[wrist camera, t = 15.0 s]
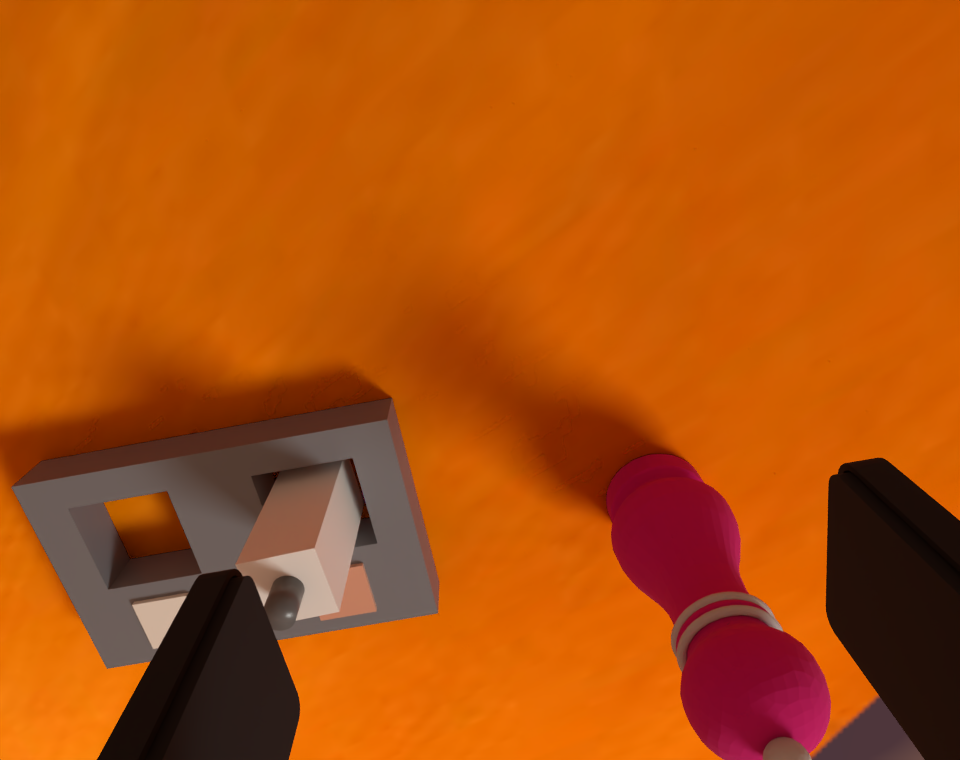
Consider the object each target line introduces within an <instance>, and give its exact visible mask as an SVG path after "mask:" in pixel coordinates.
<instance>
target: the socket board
mask: <svg viewBox="0 0 960 760" xmlns="http://www.w3.org/2000/svg"><path fill="white" fill-rule="evenodd" d="M350 458H353V461H354V465H355V468H356V471H357V475H358V478H359V482H360V485H361V489H362V492H363V495H364V499H365V502H366V506H367V509H368V513H369V516H370V518H364V519H361V520H360V524H359V529H358V533H357V537H356V542H355V546H354V550H353V555H352V559H351V564H350V568H349V572H348V577H347V581H346V585H345V590H344V594H343V598H342V603H341V607H340V611H339V612H336V613H331V614H326V615H321V616H317V617H312V618H307V619H302V620H297V621H295V623H294V625H293V626H292V627H291V628H289V629H287V630H283V631H276V630H273V631H274V634H275V637H276V639H277V640H281V639H287V638H293V637H299V636H305V635H311V634H317V633H323V632H329V631H335V630H341V629H347V628H353V627H359V626H365V625H371V624H377V623H383V622H389V621H395V620H401V619H407V618H413V617H418V616H424V615H430V614H436V613H438V601H439V580H438V576H437V572H436V568H435V564H434V560H433V556H432V552H431V548H430V544H429V540H428V537H427V533H426V529H425V525H424V521H423V517H422V513H421V509H420V505H419V501H418V497H417V494H416V490H415V486H414V482H413V478H412V474H411V470H410V466H409V462H408V458H407V454H406V451H405V447H404V443H403V439H402V435H401V431H400V427H399V423H398V419H397V415H396V411H395V408H394V404H393V400H392V398H388V399H382V400H377V401H371V402H366V403H360V404H355V405H349V406H343V407H338V408H332V409H327V410H321V411H316V412H310V413H305V414H299V415H294V416H288V417H283V418H277V419H272V420H266V421H260V422H255V423H249V424H244V425H238V426H233V427H227V428H222V429H216V430H211V431H205V432H200V433H194V434H188V435H183V436H177V437H172V438H166V439H161V440H155V441H150V442H144V443H139V444H133V445H128V446H122V447H117V448H111V449H105V450H100V451H94V452H89V453H83V454H78V455H72V456H67V457H61V458H56V459H50V460H45V461H41V462H40V463H39V464H37V465H36V466H35V467H34V468H33V469H32V470H30V471H29V472H28V473H27V474H26V475H25V476H23V477H22V478H21V479H20V480H19V481H18V482H17V483H15V484H14V485H13V486H12V489H13V491H14V493H15V495H16V497H17V499H18V501H19V502H20V504H21V506H22V508H23V510H24V512H25V514H26V516H27V518H28V520H29V521H30V523H31V525H32V527H33V529H34V531H35V533H36V535H37V537H38V538H39V540H40V542H41V544H42V546H43V548H44V550H45V552H46V554H47V556H48V557H49V559H50V561H51V563H52V565H53V567H54V569H55V571H56V573H57V575H58V576H59V578H60V580H61V582H62V584H63V586H64V588H65V590H66V592H67V593H68V595H69V597H70V599H71V601H72V603H73V605H74V607H75V609H76V611H77V612H78V614H79V616H80V618H81V620H82V622H83V624H84V626H85V628H86V629H87V631H88V633H89V635H90V637H91V639H92V641H93V643H94V645H95V647H96V648H97V650H98V652H99V654H100V656H101V658H102V660H103V662H104V664H105V666H106V667H107V669H108V668H114V667H120V666H126V665H132V664H138V663H144V662H150V661H151V660H152V658H153V657H154V655H155V653H156V651H157V649H158V647H159V646H160V644H161V642H162V640H163V638H164V636H165V635H166V633H167V631H168V629H169V627H170V626H171V624H172V622H173V620H174V618H175V616H176V615H177V613H178V611H179V609H180V607H181V605H182V604H183V602H184V600H185V598H186V596H187V594H188V593H189V591H190V589H191V587H192V585H193V583H194V582H195V580H196V579H197V577H198V576H199V575H202V574H206V573H211V572H217V571H223V570H229V569H237V567H236V565H235V564H236V562H237V560H238V558H239V556H240V554H241V552H242V550H243V548H244V545H245V543H246V541H247V539H248V537H249V535H250V533H251V531H252V529H253V527H254V525H255V522H256V520H257V518H258V516H259V514H260V512H261V510H262V508H263V506H264V504H265V502H266V499H267V497H268V495H269V493H270V491H271V489H272V487H273V485H274V483H275V479H274V476H273V473H272V472H277V471H283V470H288V469H294V468H300V467H305V466H311V465H317V464H322V463H328V462H333V461H339V460H345V459H350ZM164 491H167V492H168V494H169V497H170V499H171V501H172V504H173V506H174V508H175V511H176V513H177V515H178V518H179V520H180V523H181V525H182V527H183V530H184V532H185V534H186V537H187V539H188V541H189V544H190V546H191V549H186V550H180V551H174V552H168V553H163V554H157V555H151V556H145V557H140V558H134V559H130V558H129V556H128V554H127V552H126V550H125V548H124V546H123V543H122V541H121V539H120V537H119V535H118V533H117V531H116V529H115V526H114V524H113V522H112V520H111V518H110V516H109V514H108V512H107V509H106V507H105V505H104V503H103V502H108V501H114V500H119V499H125V498H131V497H136V496H142V495H148V494H153V493H159V492H164Z"/></svg>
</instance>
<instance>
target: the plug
mask: <svg viewBox="0 0 960 760" xmlns="http://www.w3.org/2000/svg"><path fill="white" fill-rule="evenodd" d="M364 503H365V502H364V500H363V497H362V494H361V491H360V488H359V485H358V482H357V479H356V476H355V473H354V470H353V467H352V465H351V462H350V459H345V460H339V461H333V462H328V463H322V464H317V465H311V466H305V467H300V468H294V469H288V470H283V471H280V472H279V474H278V476H277V479H276V481H275V483H274V485H273V487H272V489H271V491H270V493H269V495H268V497H267V499H266V502H265V504H264V506H263V508H262V510H261V512H260V514H259V516H258V518H257V520H256V522H255V525H254V527H253V529H252V531H251V533H250V535H249V537H248V539H247V541H246V543H245V545H244V548H243V550H242V552H241V554H240V556H239V558H238V560H237V562H236V564H235V565H236V567H237V569H238V570H239V571H240V572H241V574H242V576H247V575H248V576H250V577H251V578H252V579H253V581H254V583H255V585H256V588H257V590H258V593H259V595H260V598H261V601H262V603H263V606H264V608H265V611H266V613H267V616H268V619H269V621H270V624H271V626H272V629H273V630H276V631H283V630H287V629H289V628H291V627H292V626H293V625H294V623H295V621H297V620H302V619H307V618H312V617H317V616H321V615H326V614H331V613H336V612H339V611H340V607H341V603H342V598H343V594H344V590H345V585H346V581H347V577H348V572H349V568H350V564H351V559H352V555H353V550H354V546H355V542H356V537H357V533H358V529H359V524H360V520H361V516H362V511H363V507H364Z"/></svg>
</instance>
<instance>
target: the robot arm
mask: <svg viewBox="0 0 960 760" xmlns="http://www.w3.org/2000/svg"><path fill="white" fill-rule="evenodd" d="M826 612H827V617H828V620H829V623H830V625H831V627H832V629H833V631H834V633H835V634H836V636H837V637H838V638H839V640H840V641H841V643H842V644H843V645H844V647H845V648H846V650H847V651H848V653H849V654H850V655H851V657H852V658H853V660H854V661H855V662H856V664H857V665H858V667H859V668H860V669H861V671H862V672H863V674H864V675H865V676H866V678H867V679H868V681H869V682H870V683H871V685H872V686H873V688H874V689H875V690H876V692H877V693H878V695H879V696H880V697H881V699H882V700H883V702H884V703H885V704H886V706H887V707H888V709H889V710H890V711H891V713H892V714H893V716H894V717H895V718H896V720H897V721H898V723H899V724H900V725H901V727H902V728H903V730H904V731H905V732H906V734H907V735H908V737H909V738H910V740H911V741H912V742H913V744H914V745H915V747H916V748H917V749H918V751H919V752H920V754H921V755H922V756H923V758H924V759H925V760H960V521H959V520H958V519H957V518H956V517H955V516H953V515H952V514H951V513H950V512H949V511H947V510H946V509H945V508H944V507H943V506H941V505H940V504H939V503H938V502H936V501H935V500H934V499H933V498H932V497H930V496H929V495H928V494H927V493H926V492H924V491H923V490H922V489H921V488H920V487H918V486H917V485H916V484H915V483H914V482H912V481H911V480H910V479H909V478H908V477H906V476H905V475H904V474H903V473H902V472H900V471H899V470H898V469H897V468H896V467H894V466H893V465H892V464H891V463H890V462H888V461H887V460H885V459H883V458H874V459H868V460H862V461H856V462H850V463H845V464H843V465H841V466H840V468H839V471H838V474H836V475H832V476H831V477H830V479H829V491H828V535H827V579H826ZM299 715H300V703H299V697H298V693H297V691H296V688H295V685H294V683H293V680H292V678H291V675H290V673H289V670H288V667H287V665H286V662H285V660H284V657H283V655H282V652H281V649H280V647H279V644H278V642H277V639H276V637H275V634H274V631H273V629H272V626H271V624H270V621H269V619H268V616H267V613H266V611H265V608H264V606H263V603H262V601H261V598H260V595H259V593H258V590H257V588H256V585H255V583H254V581H253V579H252V578H251V577H250V576H248V575H247V576H242V574H241V572H240V571H239V570H238V569H229V570H223V571H217V572H211V573H206V574H202V575H199V576H198V577H197V579H196V580H195V582H194V583H193V585H192V587H191V589H190V591H189V593H188V594H187V596H186V598H185V600H184V602H183V604H182V605H181V607H180V609H179V611H178V613H177V615H176V616H175V618H174V620H173V622H172V624H171V626H170V627H169V629H168V631H167V633H166V635H165V636H164V638H163V640H162V642H161V644H160V646H159V647H158V649H157V651H156V653H155V655H154V657H153V658H152V660H151V662H150V664H149V666H148V668H147V669H146V671H145V673H144V675H143V677H142V679H141V680H140V682H139V684H138V686H137V688H136V689H135V691H134V693H133V695H132V697H131V699H130V700H129V702H128V704H127V706H126V708H125V710H124V711H123V713H122V715H121V717H120V719H119V721H118V722H117V724H116V726H115V728H114V730H113V732H112V733H111V735H110V737H109V739H108V741H107V742H106V744H105V746H104V748H103V750H102V752H101V753H100V755H99V757H98V759H97V760H289V756H290V752H291V748H292V744H293V740H294V736H295V732H296V729H297V725H298V721H299Z"/></svg>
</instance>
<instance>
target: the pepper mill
mask: <svg viewBox="0 0 960 760" xmlns="http://www.w3.org/2000/svg"><path fill="white" fill-rule="evenodd" d="M606 505H607V510H608V513H609V516H610V518H611V521H612V531H611V538H612V546H613V551H614V553H615V555H616V557H617V559H618V561H619V563H620V565H621V567H622V569H623V571H624V572H625V574H626V575H627V576H628V577H629V579H630V580H631V581H632V582H633V583H634V584H635V585H636V586H637V587H638V588H639V589H640V590H641V591H642V592H644V593H645V594H646V595H647V596H649V597H650V598H651V599H653V600H654V601H655V602H657V603H658V604H659V605H660V606H661V607H662V608H664V610H665V611H666V612H667V613H668V614H669V616H670V618H671V620H672V622H673V624H674V627H673V630H672V634H671V645H672V649H673V652H674V654H675V656H676V657H677V661H678V665H679V667H680V669H681V671H682V678H681V692H680V695H681V699H682V703H683V707H684V710H685V713H686V715H687V718H688V720H689V722H690V724H691V726H692V727H693V729H694V730H695V732H696V733H697V735H698V736H699V738H700V739H701V741H702V742H703V743H704V744H705V745H706V746H707V747H708V748H709V749H710V750H711V751H713V752H714V753H715V754H716V755H718V756H719V757H721V758H722V759H724V760H812V759H811V756H810V755H809V753H810V752H811V751H812V750H813V749H815V748H816V746H817V745H818V744H819V742H820V741H821V740H822V738H823V736H824V734H825V732H826V729H827V726H828V723H829V719H830V708H831V701H830V694H829V690H828V687H827V683H826V680H825V677H824V675H823V673H822V671H821V669H820V667H819V665H818V664H817V662H816V660H815V658H814V657H813V655H812V654H811V653H810V652H809V651H808V650H807V649H806V647H805V646H804V645H803V644H802V643H801V642H799V641H798V640H796V639H795V638H793V637H792V636H791V635H789V634H788V633H786V632H783V630H782V627H781V626H780V624H779V622H778V621H777V620H776V619H775V617H774V615H773V613H772V611H771V610H770V608H769V607H768V606H767V605H766V604H765V603H764V602H763V601H761V600H760V599H758V598H757V597H755V596H752V595H750V594H749V593H748V592H747V590H746V588H745V586H744V584H743V582H742V579H741V577H740V574H739V563H740V535H739V529H738V525H737V522H736V519H735V517H734V515H733V513H732V511H731V509H730V507H729V505H728V503H727V502H726V500H725V499H724V498H723V497H722V496H721V495H720V494H719V493H718V492H717V491H716V490H715V489H714V488H712V487H711V486H709V485H707V484H705V483H704V482H703V481H702V479H701V478H700V476H699V474H698V473H697V471H696V470H695V469H694V467H693V466H691V465H690V464H689V463H688V462H686V461H685V460H683V459H681V458H679V457H676V456H673V455H668V454H651V455H646V456H643V457H640V458H637V459H634V460H633V461H631V462H630V463H628V464H627V465H625V466H624V467H622V468H621V469H620V470H619V471H618V472H617V473H616V475H615V476H614V477H613V479H612V481H611V483H610V485H609V487H608V491H607V494H606Z"/></svg>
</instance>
